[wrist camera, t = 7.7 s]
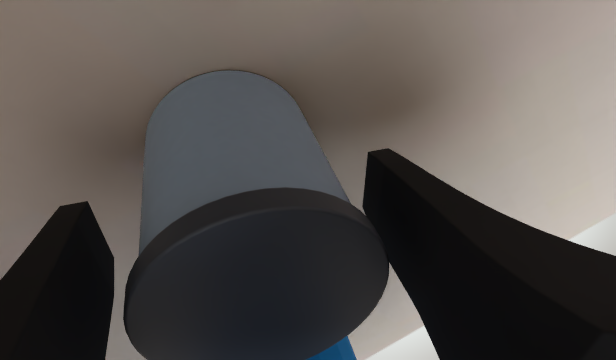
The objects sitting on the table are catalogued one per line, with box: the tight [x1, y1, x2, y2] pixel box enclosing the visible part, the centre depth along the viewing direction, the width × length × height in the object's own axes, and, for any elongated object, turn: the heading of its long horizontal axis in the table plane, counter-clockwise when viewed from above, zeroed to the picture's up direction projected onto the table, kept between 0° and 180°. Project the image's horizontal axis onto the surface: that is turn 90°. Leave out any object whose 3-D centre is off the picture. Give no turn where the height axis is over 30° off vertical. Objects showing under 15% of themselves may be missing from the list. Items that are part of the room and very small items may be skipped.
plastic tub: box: [123, 70, 389, 360], centre depth 11 cm, size 5×5×6 cm
